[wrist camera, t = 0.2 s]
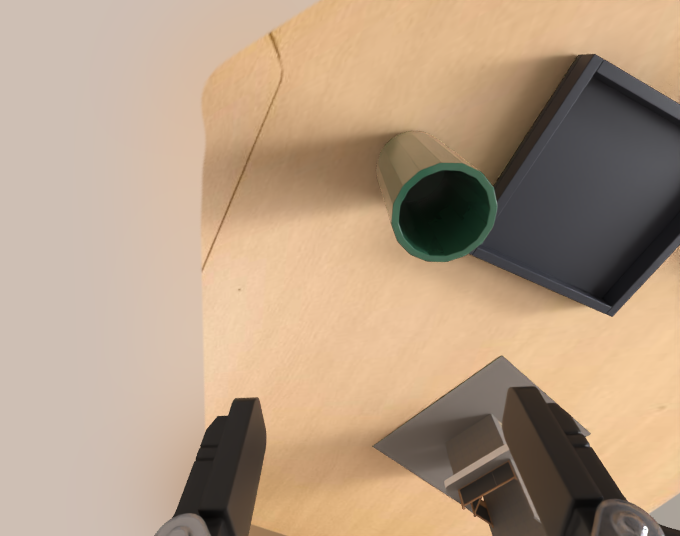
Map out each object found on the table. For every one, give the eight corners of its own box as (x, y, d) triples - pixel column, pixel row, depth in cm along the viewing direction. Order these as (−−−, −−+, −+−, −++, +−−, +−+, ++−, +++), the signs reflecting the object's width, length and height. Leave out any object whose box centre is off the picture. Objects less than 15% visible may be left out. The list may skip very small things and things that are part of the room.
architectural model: (463, 505, 51) (492, 611, 41) (372, 446, 46) (380, 551, 36) (590, 433, 45) (661, 538, 35) (502, 355, 39) (555, 452, 29)
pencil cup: (361, 166, 31) (370, 213, 21) (417, 114, 29) (455, 138, 19) (406, 215, 33) (434, 279, 23) (461, 169, 31) (517, 217, 21)
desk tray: (457, 242, 34) (463, 251, 32) (578, 54, 27) (594, 53, 25) (599, 305, 37) (612, 317, 35) (739, 149, 30) (764, 154, 28)
